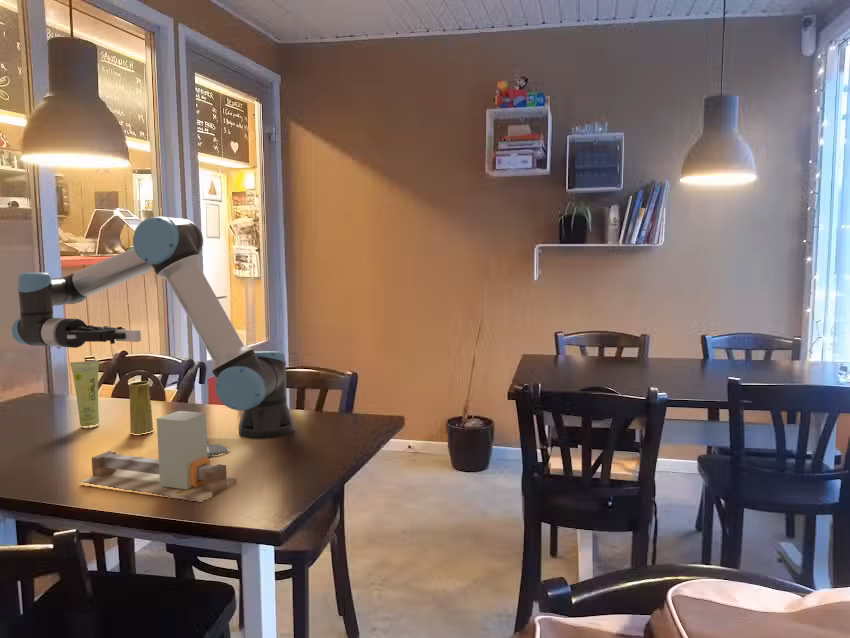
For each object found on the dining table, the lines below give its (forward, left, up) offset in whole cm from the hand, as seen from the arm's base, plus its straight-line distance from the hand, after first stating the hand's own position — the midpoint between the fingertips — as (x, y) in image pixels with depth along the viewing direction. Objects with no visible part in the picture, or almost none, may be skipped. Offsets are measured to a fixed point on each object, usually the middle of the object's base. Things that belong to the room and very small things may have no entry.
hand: (138, 336), depth 163 cm
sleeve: (-13, +29, -29) cm, 43 cm away
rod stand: (-6, +25, -30) cm, 40 cm away
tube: (+20, -31, -30) cm, 48 cm away
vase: (+4, -20, -30) cm, 37 cm away
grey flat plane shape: (-13, +5, -31) cm, 34 cm away
